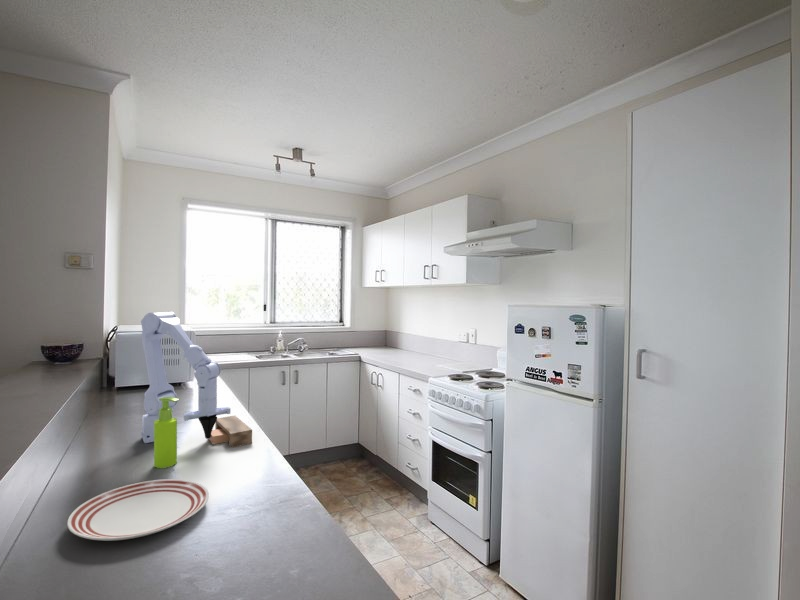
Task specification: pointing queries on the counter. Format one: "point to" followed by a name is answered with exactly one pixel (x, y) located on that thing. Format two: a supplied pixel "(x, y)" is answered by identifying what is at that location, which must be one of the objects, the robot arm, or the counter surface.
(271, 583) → the counter surface
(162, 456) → the soap dispenser
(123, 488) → the dinner plate
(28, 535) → the counter surface
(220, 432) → the peach rectangular block
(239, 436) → the wooden bridge block
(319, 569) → the counter surface
